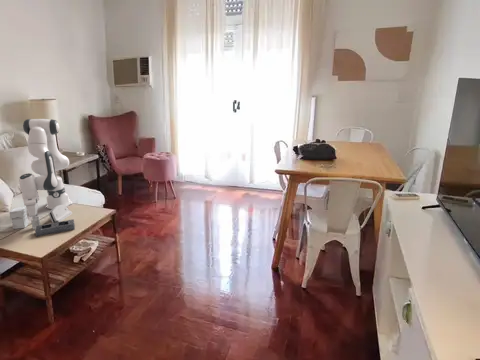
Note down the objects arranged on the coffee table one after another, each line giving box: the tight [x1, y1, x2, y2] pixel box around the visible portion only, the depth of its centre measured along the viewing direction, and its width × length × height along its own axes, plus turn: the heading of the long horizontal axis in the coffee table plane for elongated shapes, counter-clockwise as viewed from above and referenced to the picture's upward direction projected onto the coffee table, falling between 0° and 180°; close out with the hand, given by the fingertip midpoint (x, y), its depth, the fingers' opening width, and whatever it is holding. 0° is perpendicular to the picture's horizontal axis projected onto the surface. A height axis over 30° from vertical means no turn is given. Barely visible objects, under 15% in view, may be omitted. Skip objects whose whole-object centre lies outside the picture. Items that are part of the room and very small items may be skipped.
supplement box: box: [9, 206, 30, 230], centre depth 230 cm, size 7×7×13 cm
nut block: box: [30, 216, 42, 231], centre depth 227 cm, size 4×4×8 cm
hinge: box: [48, 205, 73, 223], centre depth 242 cm, size 17×5×10 cm, turn 174°
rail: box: [34, 219, 76, 238], centre depth 223 cm, size 8×22×4 cm, turn 115°
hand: (35, 218), depth 226 cm, fingers open, 8 cm apart
